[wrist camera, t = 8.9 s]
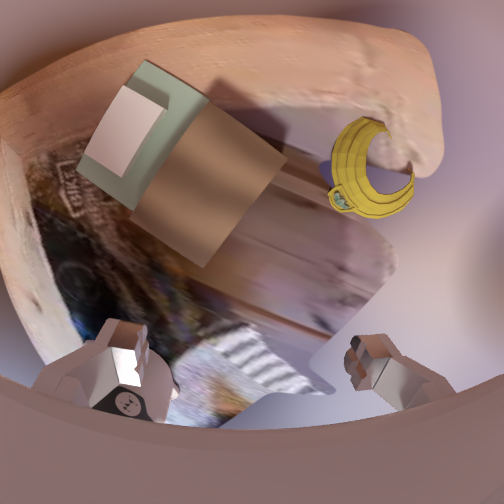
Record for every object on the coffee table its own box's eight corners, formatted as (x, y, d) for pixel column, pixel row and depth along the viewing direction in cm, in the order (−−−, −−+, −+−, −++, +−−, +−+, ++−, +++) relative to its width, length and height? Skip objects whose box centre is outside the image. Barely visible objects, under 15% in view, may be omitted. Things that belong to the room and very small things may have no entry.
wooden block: (205, 254, 35) (202, 268, 31) (139, 210, 32) (128, 219, 28) (281, 157, 31) (288, 159, 27) (211, 106, 28) (208, 101, 24)
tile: (83, 152, 26) (91, 151, 28) (121, 177, 28) (127, 175, 30) (123, 85, 24) (129, 88, 26) (163, 108, 25) (167, 110, 27)
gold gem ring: (322, 210, 34) (334, 219, 30) (333, 110, 29) (347, 107, 25) (403, 219, 35) (419, 228, 31) (415, 132, 31) (434, 133, 27)
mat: (134, 211, 32) (133, 211, 31) (76, 170, 29) (75, 170, 29) (210, 100, 28) (210, 100, 27) (145, 60, 25) (144, 60, 24)
